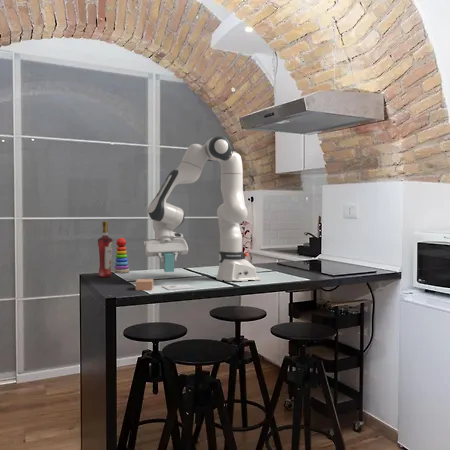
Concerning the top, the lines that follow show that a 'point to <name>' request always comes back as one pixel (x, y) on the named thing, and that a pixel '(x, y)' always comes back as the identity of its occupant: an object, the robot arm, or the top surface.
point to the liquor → (105, 253)
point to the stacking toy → (121, 257)
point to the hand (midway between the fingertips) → (169, 261)
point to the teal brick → (169, 263)
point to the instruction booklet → (177, 287)
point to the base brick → (144, 284)
